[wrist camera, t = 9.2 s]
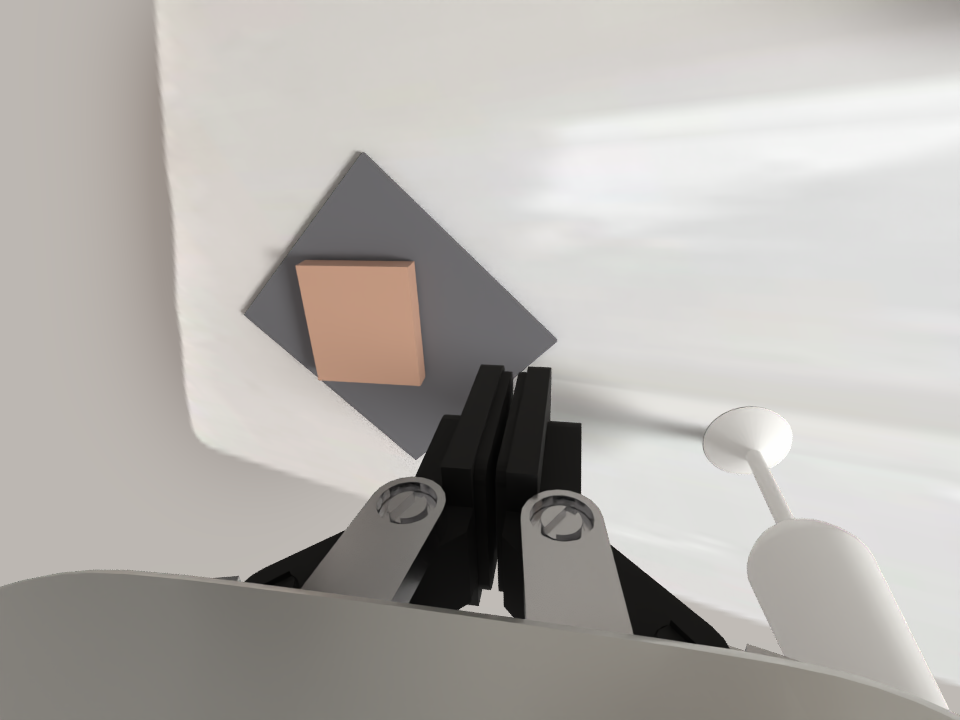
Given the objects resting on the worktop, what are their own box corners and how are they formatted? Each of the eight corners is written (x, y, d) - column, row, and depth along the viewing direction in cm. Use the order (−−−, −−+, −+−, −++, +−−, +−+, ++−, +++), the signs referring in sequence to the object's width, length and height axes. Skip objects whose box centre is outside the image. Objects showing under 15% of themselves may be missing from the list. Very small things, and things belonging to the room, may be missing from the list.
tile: (415, 260, 39) (307, 258, 41) (407, 267, 37) (295, 265, 39) (426, 375, 44) (328, 370, 45) (420, 386, 42) (318, 380, 43)
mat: (247, 312, 45) (243, 314, 44) (364, 152, 37) (361, 152, 36) (417, 456, 48) (416, 460, 48) (556, 339, 40) (556, 341, 40)
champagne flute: (711, 481, 44) (831, 833, 23) (694, 417, 41) (810, 743, 20) (798, 466, 42) (1019, 838, 21) (786, 397, 39) (1022, 740, 18)
